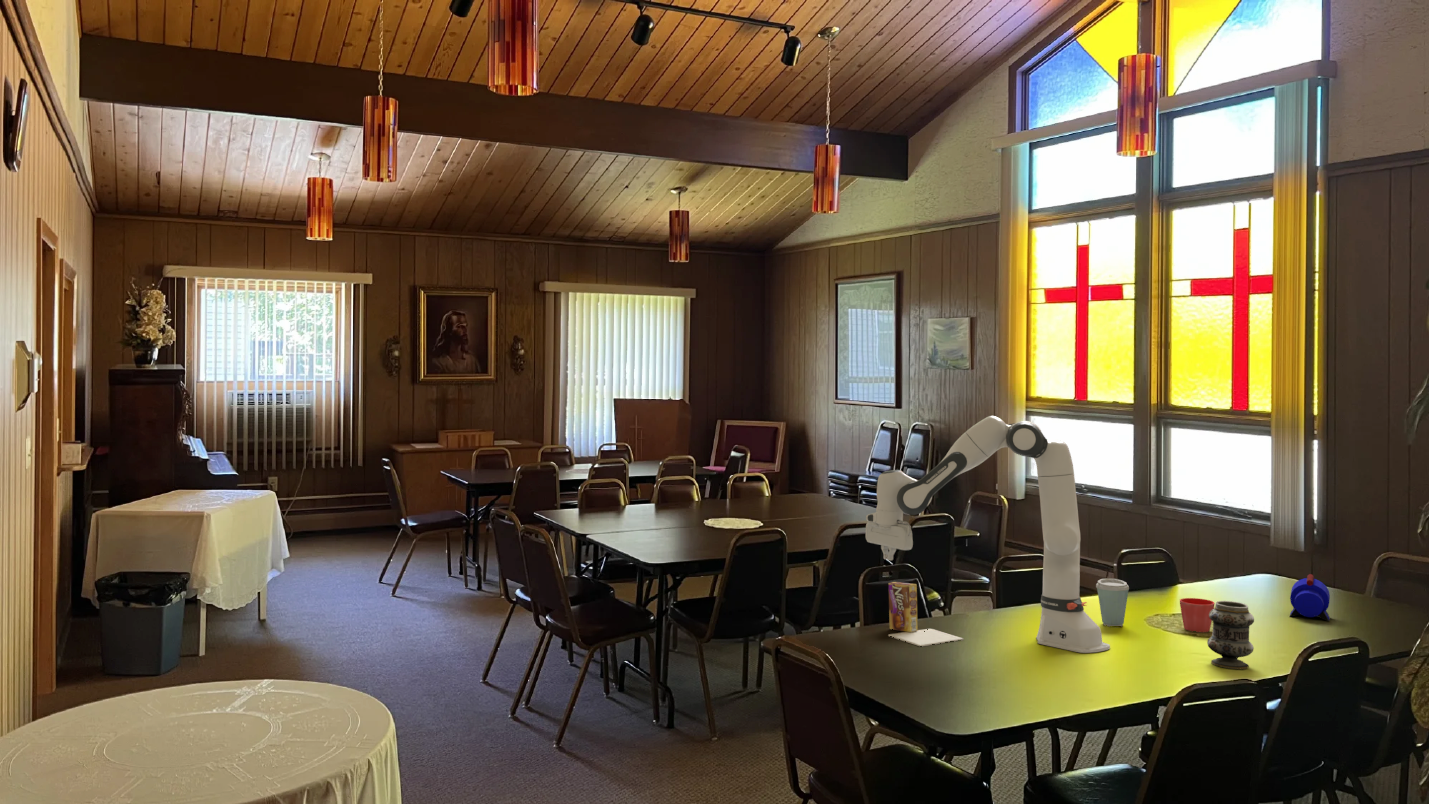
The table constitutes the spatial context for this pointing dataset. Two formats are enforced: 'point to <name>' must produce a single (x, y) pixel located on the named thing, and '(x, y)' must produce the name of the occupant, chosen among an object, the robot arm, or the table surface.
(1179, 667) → the table surface
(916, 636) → the mat
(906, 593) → the candy box
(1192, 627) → the flower pot
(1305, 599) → the alarm clock
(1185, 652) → the table surface
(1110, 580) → the disposable coffee cup
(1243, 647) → the apothecary jar
